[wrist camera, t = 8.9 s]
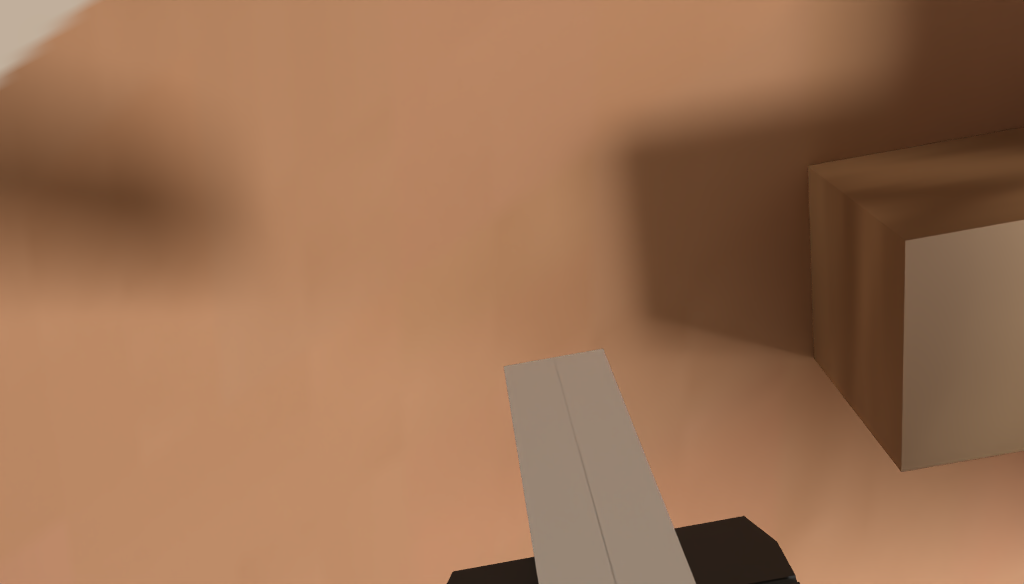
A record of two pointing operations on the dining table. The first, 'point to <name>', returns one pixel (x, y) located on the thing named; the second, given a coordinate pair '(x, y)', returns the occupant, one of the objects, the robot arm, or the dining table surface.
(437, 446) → the dining table surface
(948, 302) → the wooden slab
